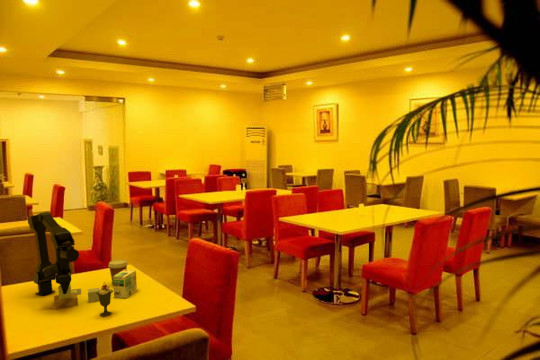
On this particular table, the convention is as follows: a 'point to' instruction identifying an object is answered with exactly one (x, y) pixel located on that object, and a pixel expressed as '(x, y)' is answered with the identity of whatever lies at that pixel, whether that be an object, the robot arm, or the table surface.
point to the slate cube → (93, 295)
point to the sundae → (105, 298)
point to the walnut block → (66, 301)
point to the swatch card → (76, 291)
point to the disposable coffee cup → (117, 267)
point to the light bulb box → (124, 283)
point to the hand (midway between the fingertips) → (65, 290)
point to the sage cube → (64, 296)
